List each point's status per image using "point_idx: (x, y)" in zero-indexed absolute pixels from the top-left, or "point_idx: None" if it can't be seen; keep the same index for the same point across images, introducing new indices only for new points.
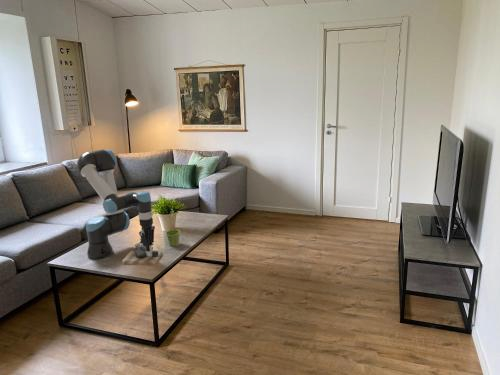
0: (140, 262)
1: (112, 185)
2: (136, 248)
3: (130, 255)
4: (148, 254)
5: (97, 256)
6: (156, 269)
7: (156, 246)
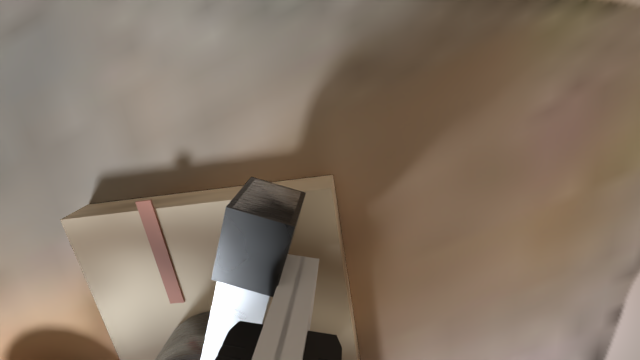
0: (353, 325)
1: None
2: None
3: None
4: (312, 309)
5: None
6: (475, 95)
7: None
